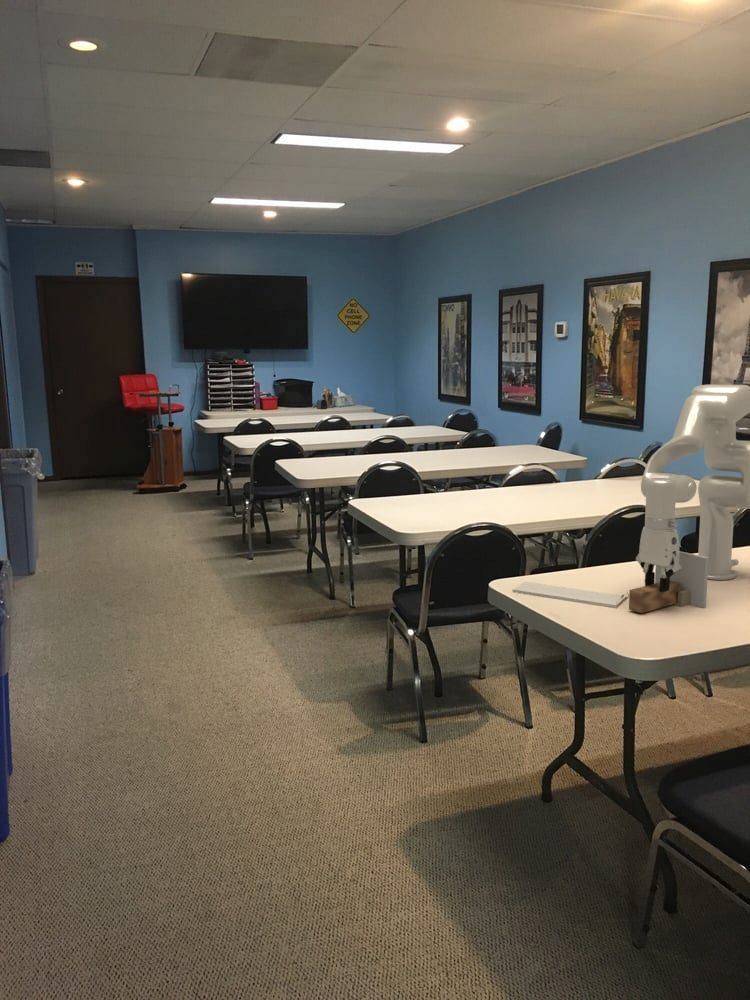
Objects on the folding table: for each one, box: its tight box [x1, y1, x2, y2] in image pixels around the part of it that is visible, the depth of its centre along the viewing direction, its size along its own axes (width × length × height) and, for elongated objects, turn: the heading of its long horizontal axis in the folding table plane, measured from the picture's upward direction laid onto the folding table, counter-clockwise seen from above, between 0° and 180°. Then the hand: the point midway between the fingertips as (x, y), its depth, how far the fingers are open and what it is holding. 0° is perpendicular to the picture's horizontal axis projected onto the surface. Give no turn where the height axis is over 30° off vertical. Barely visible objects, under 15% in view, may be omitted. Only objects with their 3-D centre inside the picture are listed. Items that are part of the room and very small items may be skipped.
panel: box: [654, 550, 709, 609], centre depth 217 cm, size 5×16×14 cm, turn 32°
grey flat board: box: [512, 581, 629, 609], centre depth 227 cm, size 31×3×12 cm
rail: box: [628, 581, 680, 614], centre depth 213 cm, size 16×4×6 cm, turn 122°
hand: (656, 588), depth 213 cm, fingers open, 4 cm apart
